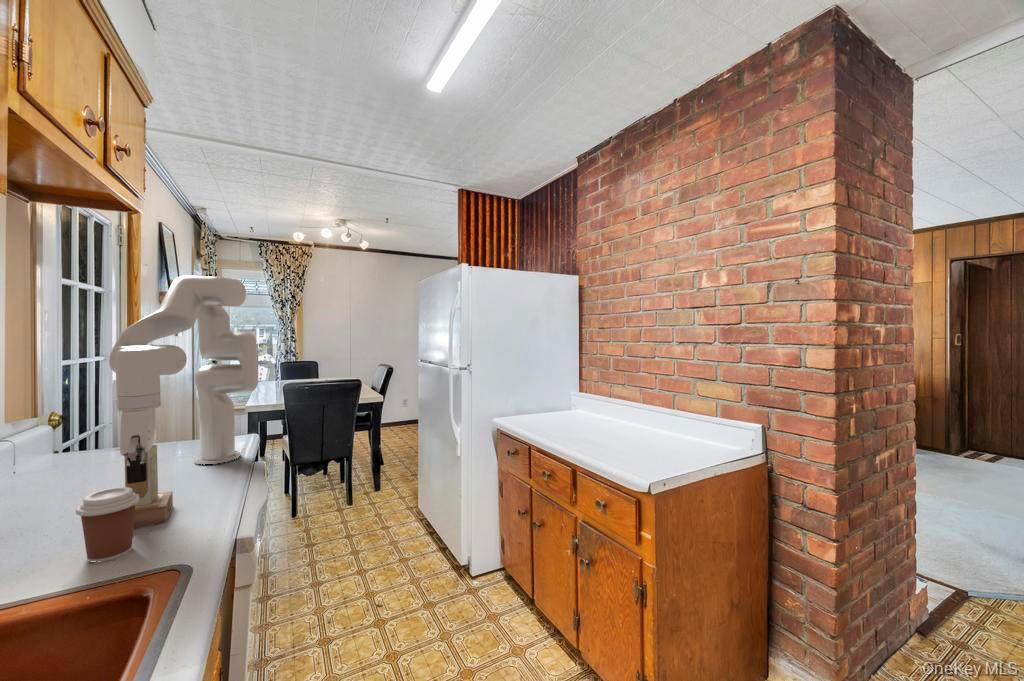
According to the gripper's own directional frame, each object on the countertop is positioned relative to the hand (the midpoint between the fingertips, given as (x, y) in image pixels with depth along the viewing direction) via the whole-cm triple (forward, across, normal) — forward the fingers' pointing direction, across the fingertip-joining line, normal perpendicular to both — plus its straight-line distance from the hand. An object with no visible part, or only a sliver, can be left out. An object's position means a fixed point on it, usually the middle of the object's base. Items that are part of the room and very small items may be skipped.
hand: (142, 474), depth 98 cm
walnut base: (+10, +1, 0) cm, 10 cm away
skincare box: (+6, 0, 0) cm, 6 cm away
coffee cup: (+10, +17, -2) cm, 20 cm away
